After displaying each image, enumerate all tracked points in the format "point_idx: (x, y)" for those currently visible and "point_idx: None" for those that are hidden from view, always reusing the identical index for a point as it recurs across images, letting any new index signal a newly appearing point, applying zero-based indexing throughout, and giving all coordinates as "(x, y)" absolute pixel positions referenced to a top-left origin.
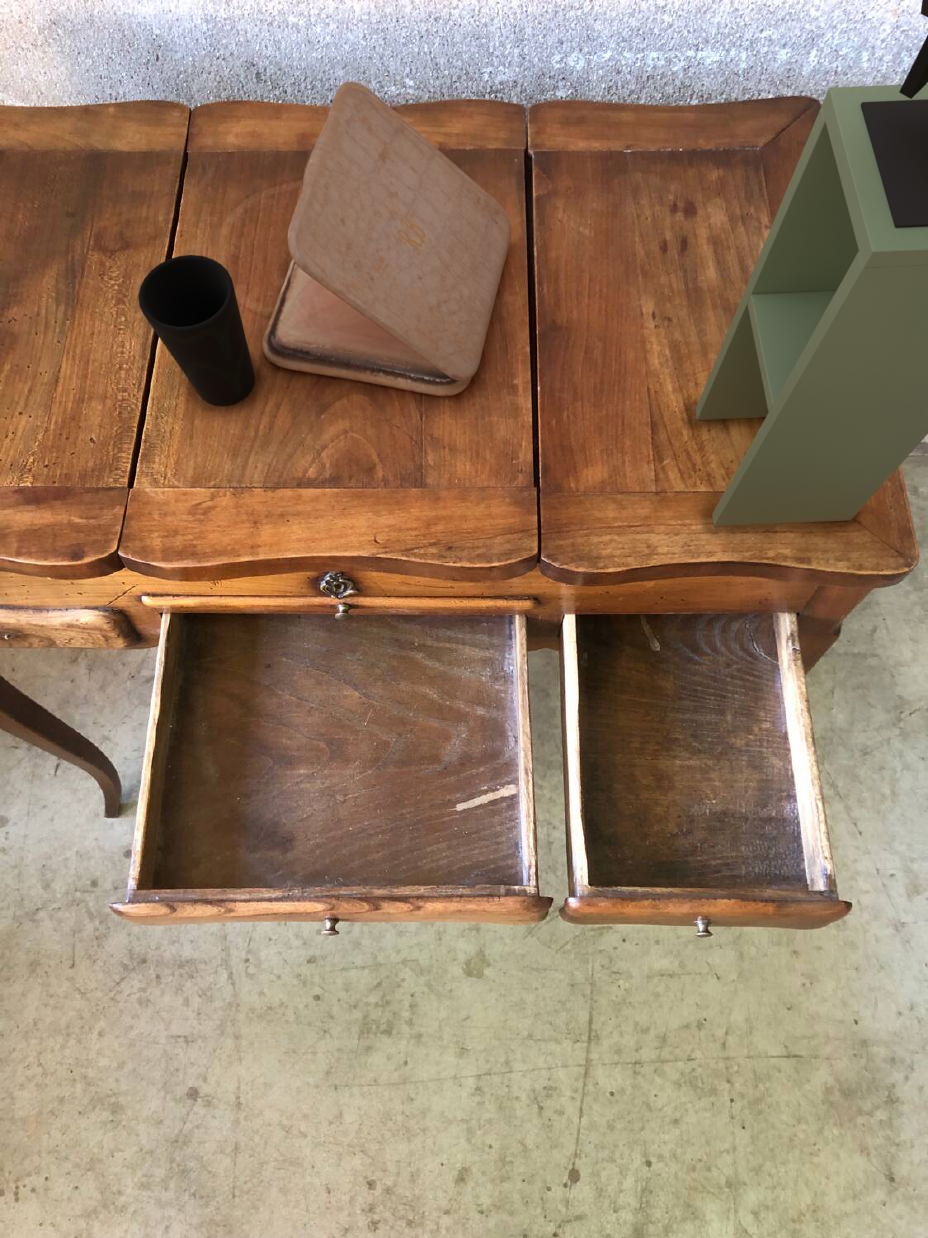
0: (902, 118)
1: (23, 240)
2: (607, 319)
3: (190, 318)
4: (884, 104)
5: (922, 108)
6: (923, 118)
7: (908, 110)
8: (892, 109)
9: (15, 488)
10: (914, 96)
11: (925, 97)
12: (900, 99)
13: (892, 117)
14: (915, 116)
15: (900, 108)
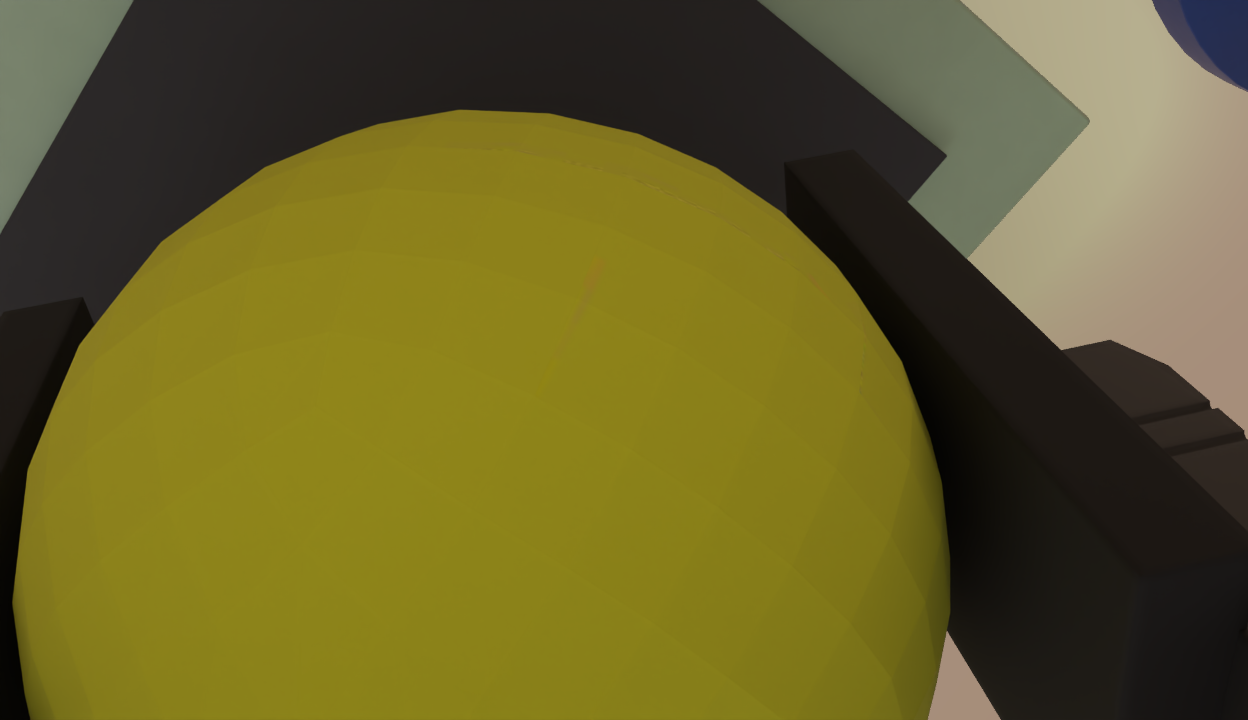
0: (125, 278)
1: None
2: None
3: None
4: (4, 291)
5: (121, 167)
6: (181, 213)
7: (95, 224)
8: (51, 280)
9: None
10: (16, 110)
11: (50, 67)
12: (1, 182)
13: (96, 312)
14: (148, 229)
15: (66, 249)
